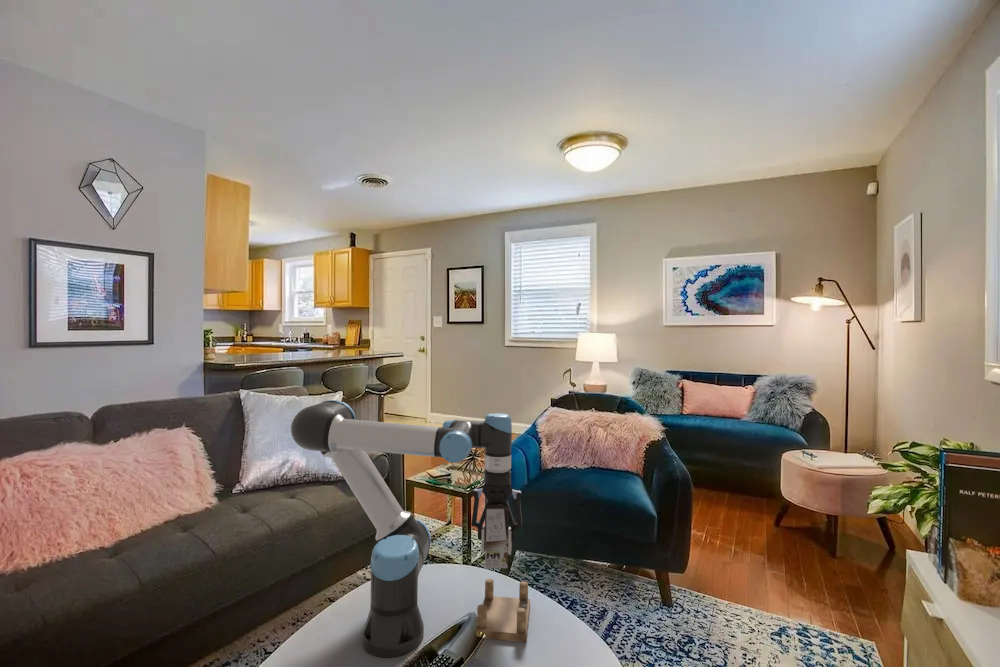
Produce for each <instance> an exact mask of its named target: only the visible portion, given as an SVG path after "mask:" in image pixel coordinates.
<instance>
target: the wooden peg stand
mask: <svg viewBox="0 0 1000 667" xmlns="http://www.w3.org/2000/svg"><path fill="white" fill-rule="evenodd" d="M494 582H495V581H494V579H492V578H486V579H485V581H484V598H483V602H482V604H479V605H478V606H477V608H476V609H477V612H476V616H477V618H476V620H477V621H476V627H475V631H476V632H484V633H485V635H486V637H485V639H486V640H495V641H496V640H497V641H505V642H506V641H508V642H518V643H527V641H528V640H527V639H528V630H529V620H530V610H531V608H530V607H531V599H530V598H528V601H527V602H526V605H525V604H522V605H521V602H520V601H519V598H518V597H517V598H516V597H505V596H496V595H495V596H494V587H495V586H494ZM475 631H474V632H475ZM485 639H484V640H485Z"/></svg>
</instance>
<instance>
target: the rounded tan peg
mask: <svg viewBox="0 0 1000 667" xmlns="http://www.w3.org/2000/svg"><path fill="white" fill-rule="evenodd" d="M518 590H519V601H520V602H521V605H522V604H525V605H526V602H527V601H528V599H529V583H528V582H527V581H520V582H519V589H518Z"/></svg>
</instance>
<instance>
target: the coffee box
mask: <svg viewBox="0 0 1000 667" xmlns="http://www.w3.org/2000/svg"><path fill="white" fill-rule="evenodd" d="M487 500H488V499H487V498H485V505H486V503H487ZM509 506H510V504H509V505H508V506H504V505H503V504H499V503H495V504H491V505H486V518H485V521H484V524H485V525H484V526H485V551H484V568H485V569H508V566H509V563H508V562H509V561H508V560H509V555H508V534H509V527H510V524H509Z"/></svg>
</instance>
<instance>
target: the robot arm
mask: <svg viewBox="0 0 1000 667" xmlns="http://www.w3.org/2000/svg"><path fill="white" fill-rule="evenodd" d="M355 415H356V414H355V411H354V410H353V409H352V407H351V406H350V405H349V404H348V403H346V402H343V401H342V400H335V399H334V400H331V399H329V400H324V401H322V402H319V403H316V404H313V405H310V406H307V407H304V408H303V409H300V411H298V412H297V413H296V415H295V416H294V418H293V419H292V422H291V427H290V432H291V436H292V439H293V441H294V442H295V443H296V444H297V446H299V447H300V448H302V449H304V450H306V451H307V450H308V451H313V452H320V453H321V455H322V456H323V457H325V458H330V459H331V460H332V461H333V463H334V465H336V466H335V467H336V468H337V469H338V471H339V472H340V473H341V475H342V477H343V478H344V480H345V482H346V483H347V485H348V487H349V488H350V490H351V491H352V493H353V495H354V496H355V498H356V500H357V501H358V502H359V504H360V506H361V507H362V509H363V510H364V512H365V513H366V515H367V517H368V518H369V520H370V521H371V523H372V524H373V526H374V528H375V529H376V534H375V540H376V542H377V543H376V544H375V545H374V547H373V549H372V551H371V557H370V609H369V612H368V615H367V618H366V621H365V623H364V627H363V630H362V640H361V641H362V647H363V649H365V651H366V652H367V653H368V654H370V655H373V656H375V657H380V658H395V657H400V656H403V655H406V654H409V653H410V652H412V651H414V650H415V649H417V647H419V646H420V644H422V642H423V639H424V635H425V630H424V628H425V625H424V622H423V617H422V615H421V611H420V608H419V605H418V593H419V592H418V590H419V587H418V585H419V582H418V581H419V575H420V573H421V570H422V568H423V566H424V564H425V561H426V559H427V558H428V555H429V554H430V550H431V544H432V537H431V532H430V530H429V528H428V527H427V525H426V524H425V523H424V522H423V521H421V520H418V519H416V518H415V516H414V515H413V513H412V512H411V511H406V510H403V508H402V506H401V505H400V503H399V501H397V499H396V497H395V496H394V494H393V492H392V491H391V489H390V487H389V486H388V484H387V483H386V481H385V480H384V478H383V476H382V475H381V473H380V472H379V470H378V469H377V467H376V465H375V464H374V463H373V461H372V459H371V458H370V456H369V455H368V453H367V452H377V453H387V454H396V455H397V454H399V455H408V456H420V457H421V456H423V457H433V458H442V459H444V460H445V461H447V462H448V463H453V464H455V463H460V462H462V461H464V460H465V459H466V458H467V457H468V456H469V455H470V454H471V451H472V449H474V448H475V449H484V468H485V470H484V472H483V474H484V475H483V476H484V479H483V480H484V482H483V487H482V488H474V489H473V492H472V495H473V499H474V500H473V509H472V516H471V527H474V528H476V529H477V540H479V541H481V542H480V543H481V545H480V546H481V547H480V548H481V554H485V525H484V524H485V518H486V505H491V504H495V503H499V504H503V505H504V506H508V505H509V534H508V556H512V542H515V541H516V532H517V530H518V529H522V527H523V519H522V518H523V517H522V508H521V497H522V490H521V489H517V490H515V489H513V487H512V471H511V469H512V439H513V438H512V436H513V435H512V434H513V428H512V424H513V422H512V417H511V415H510V414H508V413H501V412H499V413H498V412H495V413H492V412H491V413H488V414H485V419H484V420H461V419H460V420H459V419H454V420H445V421H444V422H443V424H442V427H440V426H431V425H421V424H419V425H418V424H407V423H397V422H385V421H375V420H361V419H356V416H355ZM366 451H367V452H366ZM482 495H484V496H485V497H486V498H485V499H488V500H487V503H486V502H485V505H484V508H483V511H482V514H481V516H480V519H479V520H478V514H479V513H478V512H479V505H480V498H481V497H482ZM511 495H512V496H513V499H514V500H515V514H516V522H515V519H514V516H513V513H512V509H511V506H510V503H509V500H508V499H509V498H510V497H511Z"/></svg>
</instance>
